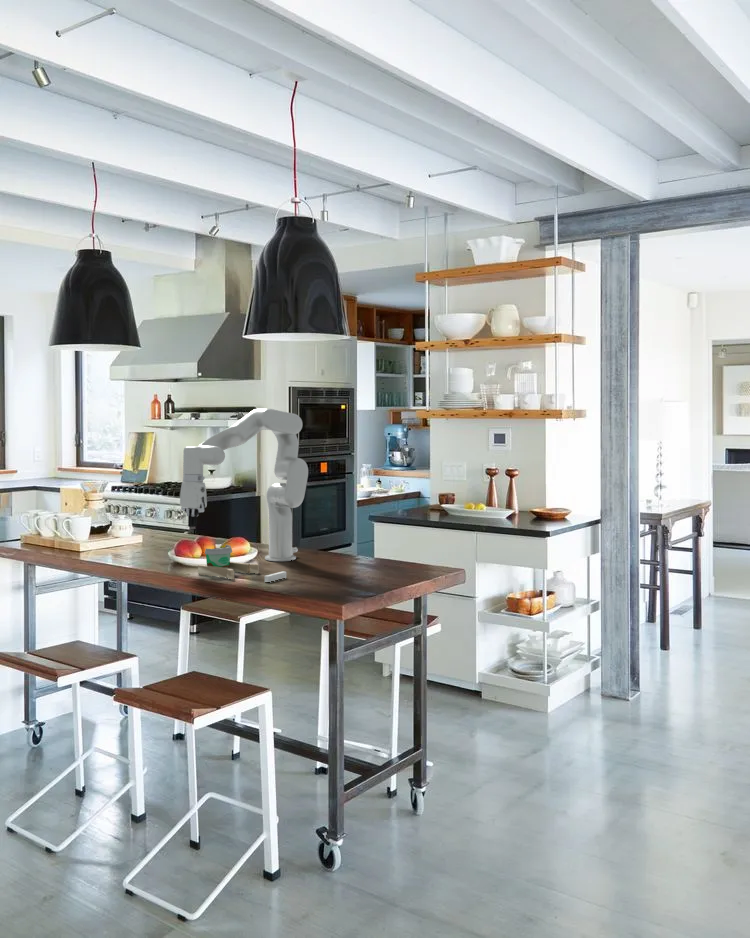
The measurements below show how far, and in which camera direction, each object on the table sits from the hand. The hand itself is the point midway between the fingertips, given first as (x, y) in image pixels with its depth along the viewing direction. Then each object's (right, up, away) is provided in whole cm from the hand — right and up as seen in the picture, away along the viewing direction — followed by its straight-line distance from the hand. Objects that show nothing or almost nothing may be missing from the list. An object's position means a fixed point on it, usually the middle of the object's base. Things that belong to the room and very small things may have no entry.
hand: (192, 526), depth 347 cm
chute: (+15, -17, -7) cm, 24 cm away
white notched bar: (+34, -18, -18) cm, 43 cm away
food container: (+12, -18, -6) cm, 22 cm away
